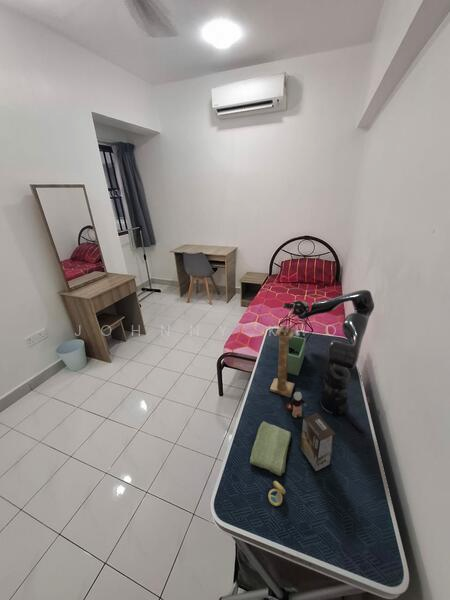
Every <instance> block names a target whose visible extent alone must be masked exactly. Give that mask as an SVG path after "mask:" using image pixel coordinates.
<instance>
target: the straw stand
mask: <svg viewBox="0 0 450 600" xmlns="http://www.w3.org/2000/svg"><path fill="white" fill-rule="evenodd" d="M295 333H296V329H292V326H291V325H289V326H288V327H286V325H285V324H283V326H279V327H278V329H277V330H276V332H275V335H274V336H275V337H279V338H278V359H277V361H278V363H277V377H274V378H273V381H272V383H271V385H270V387H269V392H272V393H275V394H278V395H281V396H284V397H287V398H292V395H293V391H294V388H295V383H294V382H291V381H288V373H287V370H288V355H289V340H290V339H292V338H293V336H295Z"/></svg>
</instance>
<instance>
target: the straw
mask: <svg viewBox="0 0 450 600" xmlns="http://www.w3.org/2000/svg"><path fill="white" fill-rule="evenodd" d="M294 305H295V304H294ZM294 305H293V307H292V309H291V311H290V310H289V312H288V314H287V316H286V318H287V319H290V318H291V317H292V315H293V311H294Z"/></svg>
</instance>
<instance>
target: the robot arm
mask: <svg viewBox="0 0 450 600" xmlns="http://www.w3.org/2000/svg"><path fill="white" fill-rule="evenodd" d="M347 302H351V303H352V306H353V309H354V312H351V313H349V314H348V315H347V316H346V317H345V319H344V321H343V323H342V326H341V328H342V332H343V335H344V336H345V338H346V339H347V341H348V342H349V343H346V342H343V341H340V340H335V339H334V340H332V341H330V342H329V344H328V347H327V353H326V365H325V371H324V376H323V385H322V389H321V396H320V397H321V398H320V403H319V404H320V406H321V408H322V409H323V411H325V412H327V413H329V414H332V415H333V416H334V417H335V416H337V415H340V416H341V415H342V414H345V415H346V416H347V417H348V418H349V420H350V421H351V424H352V425H353V426H354V427H355V428H356V429H357V430H358V431H360V432H361V433H362V432H364V429H363V428H362V427H360V426H359V425H357V423H356V422H355V420H354V418H353V417H352V416H351V414H350V413H349V412H348V411H349V408H350V407H349V405H348V397H349V394H348V393H347V391H348V388H349V387H348V386H349V382H350V379H351V378H350V377H351V373H350V371H349V369H350V370H352V369H354V368H355V367H356V366H357V364H358V362H359V357H360V352H361V347H362V343H363V339H364V336H365V333H366V331H367V327H368V323H369V321H370V316H371V315H372V313H373V311H374V310H375V302H374V299H373V296H372V292H371V291H370V290H369V289H360V290H355V291H351V292H348V293H345V294H342V295H338V296H337V297H333V298H329V299H325V300H318V301H314V302H312V303H311V306H309V303H308V301H304V300H293V301H292V302H291V303H288V302H284V303H283V306H282V309H288V310H289V312H290V311H291V309H292V307H293V305H294V304H295V305H294V311H293V313H292V315H294V316H297V318H298V319H299V320H306V319H308V318H310V317H314V316H317V315H321V314H327V313H330V312H331V313H332V311H335V310H336V309H337V308H338V307H339V306H341V305H342V304H344V303H347Z"/></svg>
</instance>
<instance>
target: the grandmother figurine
mask: <svg viewBox="0 0 450 600" xmlns="http://www.w3.org/2000/svg"><path fill="white" fill-rule="evenodd" d="M302 404H303V406H304V407H307V403H306V401H305V400H304V399H303V395H302V393H301V392H300V391H295V392H294V394H293V400H291V402H289V405H288V409H291V408H292V412H291V415H292V417H293V418H298V417H303V408H302V407H303V406H302Z"/></svg>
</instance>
